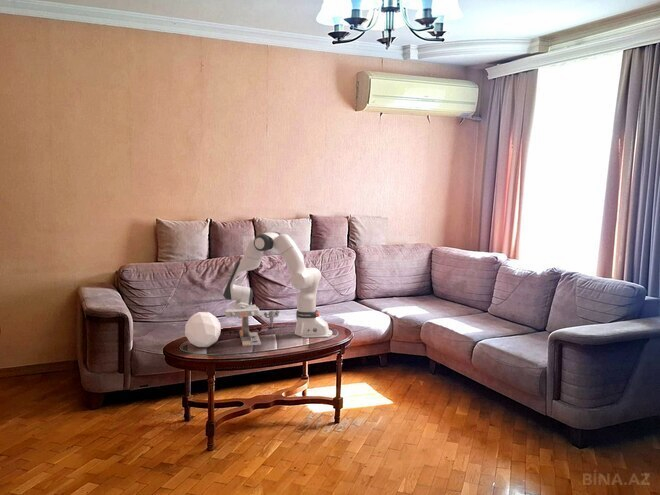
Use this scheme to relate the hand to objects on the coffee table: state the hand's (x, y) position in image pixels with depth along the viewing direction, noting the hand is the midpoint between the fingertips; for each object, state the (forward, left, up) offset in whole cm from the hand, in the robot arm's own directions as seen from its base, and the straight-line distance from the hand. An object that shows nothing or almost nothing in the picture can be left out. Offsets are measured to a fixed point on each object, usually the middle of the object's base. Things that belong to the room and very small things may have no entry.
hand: (243, 315), depth 346 cm
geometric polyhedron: (+15, +28, -12) cm, 33 cm away
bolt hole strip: (-9, +11, -11) cm, 18 cm away
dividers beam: (-4, +13, -11) cm, 18 cm away
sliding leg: (-4, +11, -9) cm, 15 cm away
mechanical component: (-13, -18, -12) cm, 25 cm away
